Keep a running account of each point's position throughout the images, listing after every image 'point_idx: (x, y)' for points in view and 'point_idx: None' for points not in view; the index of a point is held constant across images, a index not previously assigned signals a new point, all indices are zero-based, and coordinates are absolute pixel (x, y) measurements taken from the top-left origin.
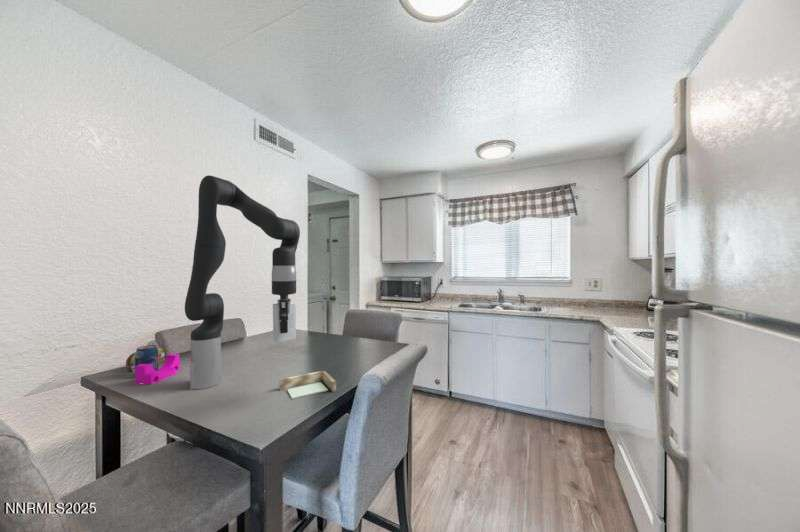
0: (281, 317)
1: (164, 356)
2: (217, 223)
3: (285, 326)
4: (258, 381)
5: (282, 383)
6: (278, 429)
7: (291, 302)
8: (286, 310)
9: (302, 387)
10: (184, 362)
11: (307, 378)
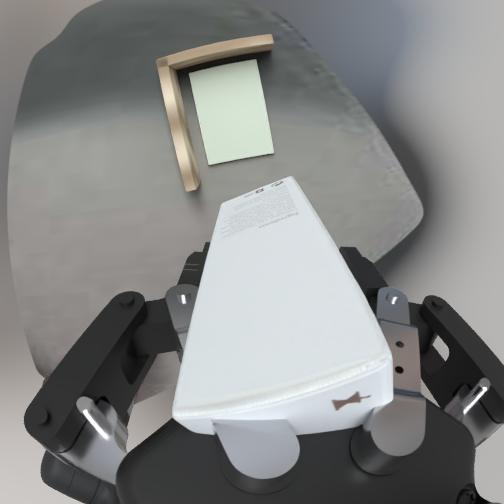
0: (432, 344)
1: (46, 379)
2: None
3: (379, 279)
4: (126, 238)
5: (196, 180)
6: (396, 190)
7: (231, 411)
8: (483, 353)
9: (211, 123)
10: (42, 354)
11: (180, 110)
